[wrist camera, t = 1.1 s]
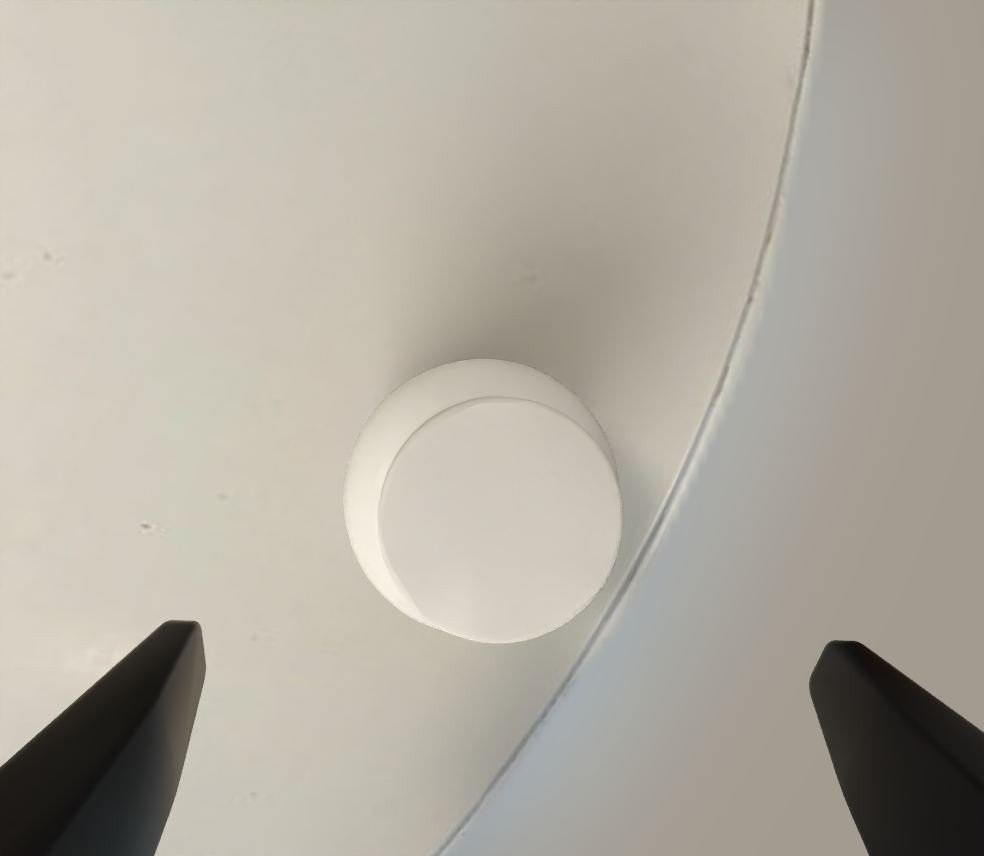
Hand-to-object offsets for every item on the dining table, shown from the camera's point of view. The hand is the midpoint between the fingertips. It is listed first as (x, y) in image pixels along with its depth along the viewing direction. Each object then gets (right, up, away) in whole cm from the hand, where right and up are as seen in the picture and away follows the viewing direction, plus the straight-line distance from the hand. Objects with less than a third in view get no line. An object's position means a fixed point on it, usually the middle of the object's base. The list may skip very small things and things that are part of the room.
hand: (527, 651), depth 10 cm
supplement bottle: (-2, +2, +16) cm, 16 cm away
